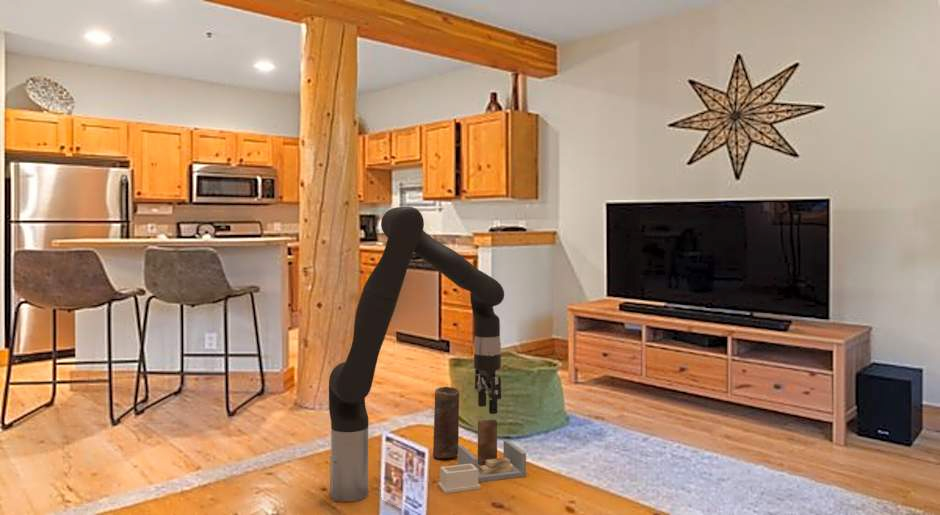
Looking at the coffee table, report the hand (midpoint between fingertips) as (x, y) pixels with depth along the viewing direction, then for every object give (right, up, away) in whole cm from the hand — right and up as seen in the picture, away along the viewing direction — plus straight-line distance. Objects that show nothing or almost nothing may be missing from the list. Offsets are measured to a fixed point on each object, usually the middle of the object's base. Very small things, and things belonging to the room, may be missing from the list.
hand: (487, 409), depth 181 cm
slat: (0, -15, 0) cm, 15 cm away
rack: (+1, -16, -3) cm, 17 cm away
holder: (-8, -17, -14) cm, 23 cm away
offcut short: (+3, -14, -6) cm, 15 cm away
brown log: (-12, -16, +10) cm, 23 cm away
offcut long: (+2, -15, -6) cm, 16 cm away
